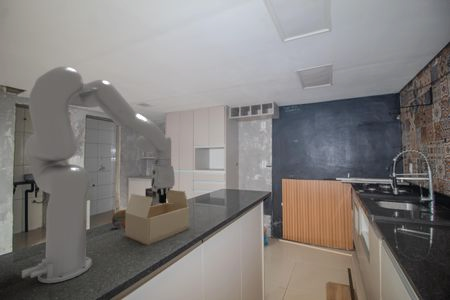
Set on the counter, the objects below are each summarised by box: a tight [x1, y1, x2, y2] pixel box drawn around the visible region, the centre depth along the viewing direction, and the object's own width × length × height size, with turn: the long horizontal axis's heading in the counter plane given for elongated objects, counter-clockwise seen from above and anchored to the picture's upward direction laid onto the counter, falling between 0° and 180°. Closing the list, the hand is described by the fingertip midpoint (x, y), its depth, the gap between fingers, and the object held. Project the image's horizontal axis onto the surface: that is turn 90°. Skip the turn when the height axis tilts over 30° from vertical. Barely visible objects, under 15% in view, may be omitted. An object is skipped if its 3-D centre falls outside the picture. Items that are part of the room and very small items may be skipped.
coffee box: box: [144, 187, 162, 206], centre depth 113 cm, size 9×6×16 cm
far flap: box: [166, 188, 190, 207], centre depth 99 cm, size 8×14×1 cm
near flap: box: [125, 193, 153, 219], centre depth 83 cm, size 8×14×1 cm
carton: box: [124, 202, 190, 246], centre depth 91 cm, size 22×17×10 cm
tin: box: [111, 209, 126, 230], centre depth 99 cm, size 15×3×8 cm, turn 129°
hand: (162, 202), depth 93 cm, fingers closed
